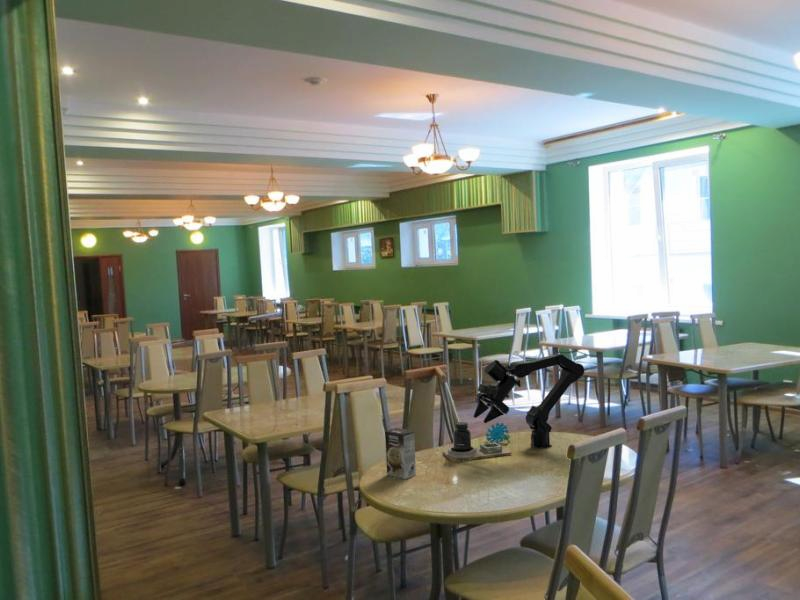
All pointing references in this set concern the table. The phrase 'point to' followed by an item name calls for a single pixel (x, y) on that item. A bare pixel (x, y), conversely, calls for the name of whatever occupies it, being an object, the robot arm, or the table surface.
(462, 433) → the supplement bottle
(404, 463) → the coffee box
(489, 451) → the socket board
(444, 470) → the table surface
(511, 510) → the table surface
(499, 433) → the gear
